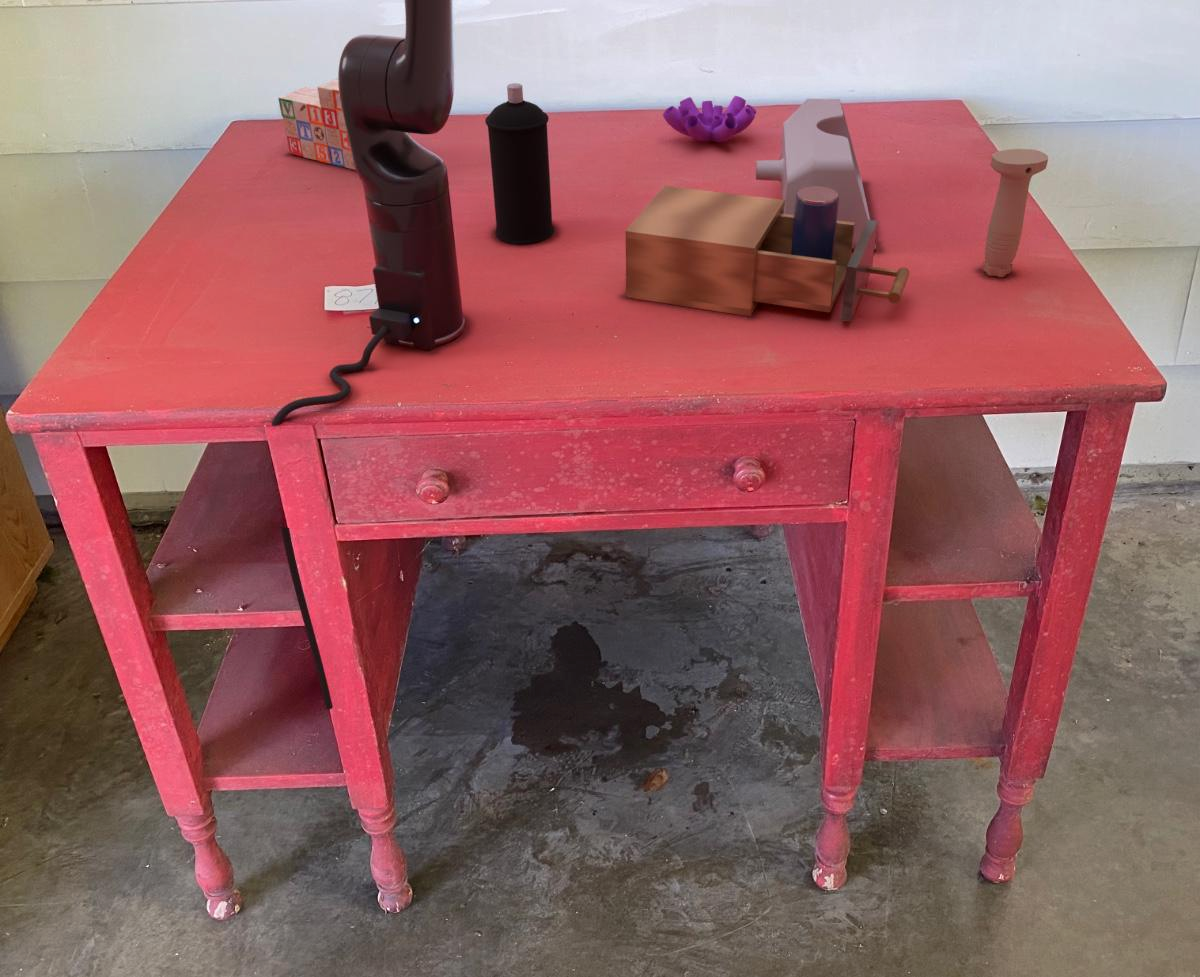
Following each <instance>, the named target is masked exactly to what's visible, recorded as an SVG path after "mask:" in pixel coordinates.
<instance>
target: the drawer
mask: <svg viewBox="0 0 1200 977" xmlns="http://www.w3.org/2000/svg"><path fill="white" fill-rule="evenodd" d="M878 223H879V221H878V220H875V219H870V220H868V221H867V223H866V225H865V228H864V230H863V232H862V234H861V236H860V238H859V241H858V243H857V245H856V247H855V249H852V244H853V236H854V227H855V222H847V221H839V220H837V225H836V235H835V244H834V253H833V260H827V259H820V258H812V257H805V256H797V255H791V248H792V236H793V224H794V215H790V214H782V213H780V215H779V216H778V218H777V219H776V221H775V223H774V224H773V226H772V227H771V229H770V231H769V232H768V234H767V236H766V237H765V239H764V240H763V242H762V244H761V245H760V247H759V248H758V250H757V252H756V265H755V280H754V296H753V301H755V302H758V303H763V304H769V305H775V306H783V307H790V308H796V309H804V310H810V311H816V312H823V313H831V311H832V309H833V306H834V305H835V302H836V300H837V298H838V296H839V294H840V291H841V289H842V287H843V294H842V301H841V302H842V303H841V310H840V321H841V322H842V321H843V322H850V323H851V322H852V319H853V317H854V314H855V312H856V309H857V307H858V305H859V302H860V301H861V298H862V296H866V297H873V298H881V299H887V300H888V301H889V302H890V303H891V304H898V303H899V302H900V301H901V298H902V295H903V293H904V290H905V288H906V284H907V282H908V279H909V277H910V269H909V268H907V267H905V266H903V267H900V268H898V270H897V269H889V268H881V267H874V266H873V261H874V255H875V254H874V253H875V250H874V247H875V246H876V240H877V232H878ZM871 274H872V275H881V276H889V277H894V280H893V283H892V285H891V288H890V290H889V291H883V290H876V289H869V288H866V285H867V283H868V281H869V278H870V277H871Z"/></svg>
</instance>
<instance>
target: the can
mask: <svg viewBox="0 0 1200 977" xmlns="http://www.w3.org/2000/svg"><path fill="white" fill-rule="evenodd" d="M838 207H839V196H838V193H837V192H836V191H835V190H833V189H831V188H827V187H821V186H811V187H805V188H803V189H801V190H799V191H798V194H797V195H796V200H795V212H794V224H793V236H792V248H791V255H797V256H805V257H812V258H820V259H827V260H833V253H834V244H835V235H836V225H837V216H838Z"/></svg>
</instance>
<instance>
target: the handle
mask: <svg viewBox="0 0 1200 977" xmlns="http://www.w3.org/2000/svg"><path fill="white" fill-rule="evenodd" d="M1048 161H1049V156H1048V155H1047V154H1046V153H1044V152H1042V151H1040V150H1037V149H1029V148H1009V149H1003V150H999V151H996V152H993V153H992V154H991V159H990V167H991V168H992V169H993V170H994V171H995V172H997V173H998V174H1000V179H999V180H1000V181H999V184H998V189H997V193H996V197H995V202H994V205H993V209H992V212H991V216H990V220H989V224H988V228H987V233H986V238H985V245H984V246H985V247H984V261H983V265H982V266H983V268H982V270H983V273H986V275H987V276H989V277H997V278H1004V277H1005V276H1006V275H1009V274H1010V273H1011V271H1012V268H1013V262H1014V260H1015V258H1016V255H1017V252H1018V249H1019V246H1020V241H1021V237H1022V233H1023V226H1024V221H1025V213H1026V206H1027V199H1028V194H1029V186H1030V184H1031V179H1032V177H1033V176H1034V175H1037V174H1039V173H1041V172H1042V171H1044V170H1046V168H1047V166H1048Z"/></svg>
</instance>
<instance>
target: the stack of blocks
mask: <svg viewBox="0 0 1200 977" xmlns="http://www.w3.org/2000/svg"><path fill="white" fill-rule="evenodd" d="M277 99H278V103H279V109H280V110H279V111H280V114H281V117H282V122H283V127H284V131H285V136H286V140H287V147H288V151H289V154H290V155H294V156H298V157H303V158H304V159H309V160H313V161H317V162H321V163H325V164H328V165H333V166H338V167H342V168H346V169H350V170H354V171H356V169H355V166H354V163H353V158H352V153H351V148H350V144H349V139H348V134H347V130H346V125H345V121H344V116H343V112H342V107H341V101H340V94H339V86H338V77H337V78H335V79H332V80H331V81H328V82H326V83H323V84H321V85H318V86H317V88H314V87H313V88H312V87H307V86H303V87H301V88H298V89H296V90H294V91H292V92H289V93H287V94H284V95H281V96H279V97H278V98H277ZM408 134H409V135H410V136H411V133H408Z"/></svg>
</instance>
